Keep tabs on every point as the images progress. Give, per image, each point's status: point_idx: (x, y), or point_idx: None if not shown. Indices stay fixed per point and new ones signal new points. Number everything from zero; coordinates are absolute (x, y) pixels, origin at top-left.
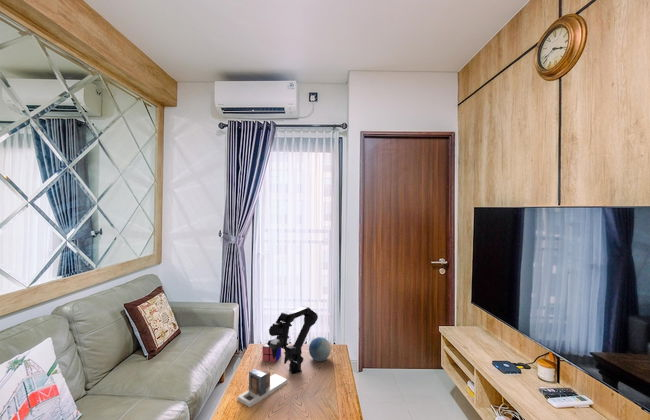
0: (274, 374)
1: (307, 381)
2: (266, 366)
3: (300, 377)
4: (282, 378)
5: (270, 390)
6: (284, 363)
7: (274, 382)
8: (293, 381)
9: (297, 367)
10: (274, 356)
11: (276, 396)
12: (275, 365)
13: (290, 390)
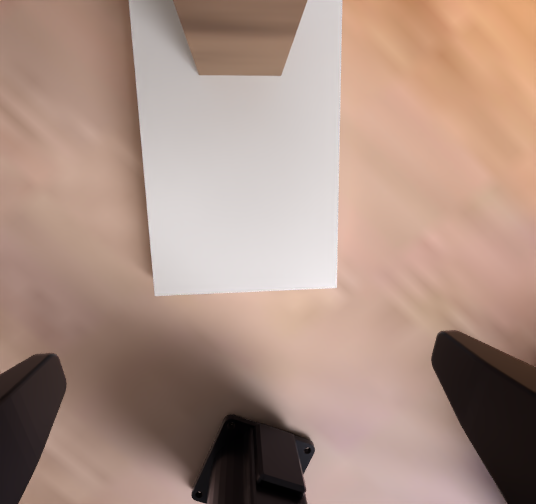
0: (333, 275)
1: None
2: (516, 346)
3: (135, 424)
4: (209, 278)
5: (130, 17)
6: (34, 358)
7: (219, 167)
8: (135, 340)
9: (209, 502)
10: (472, 392)
11: (59, 46)
12: None
13: (36, 217)
